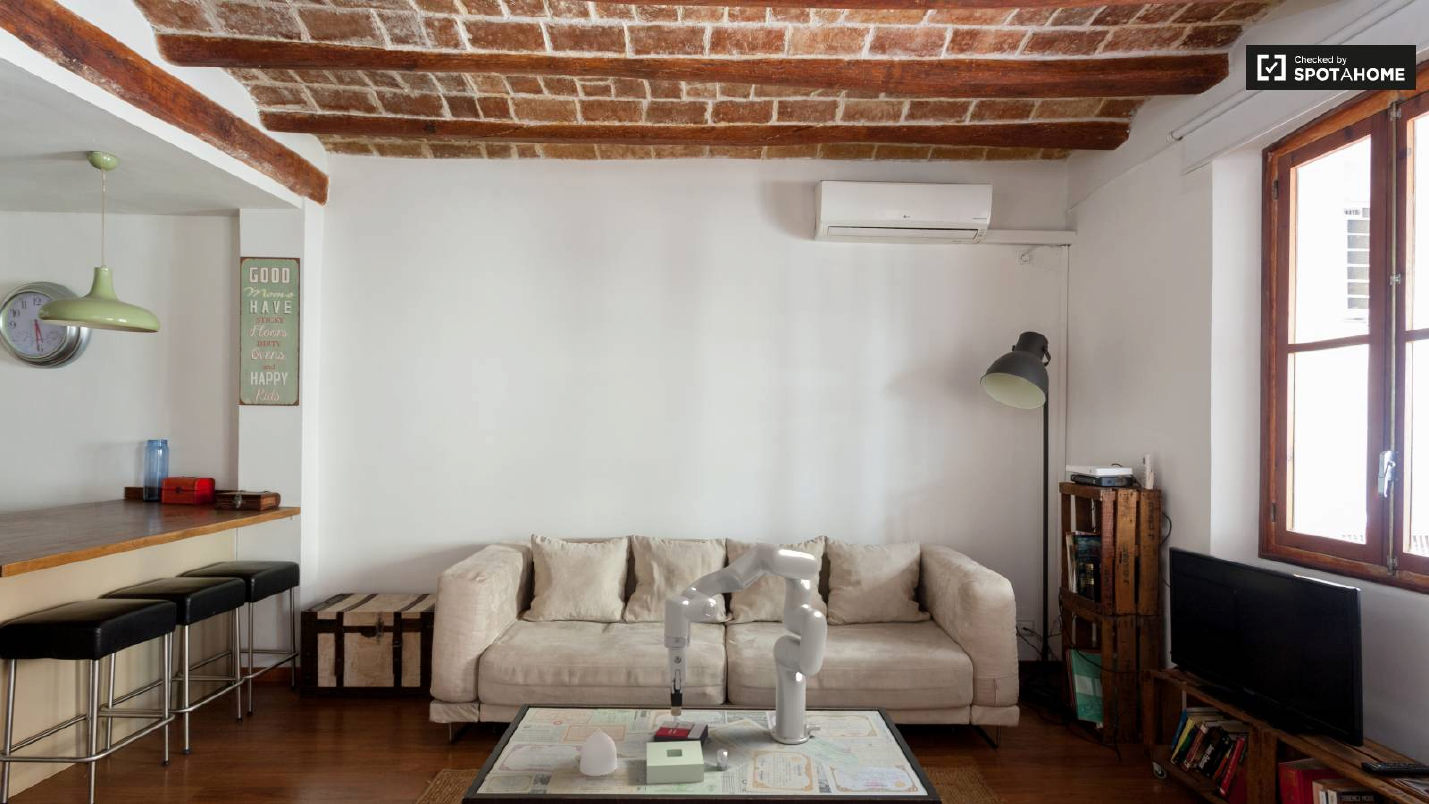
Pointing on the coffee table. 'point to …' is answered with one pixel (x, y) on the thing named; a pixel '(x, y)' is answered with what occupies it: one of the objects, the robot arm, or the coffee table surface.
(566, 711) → the coffee table surface
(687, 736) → the calculator
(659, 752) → the peg block
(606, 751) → the teardrop
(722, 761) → the short pin
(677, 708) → the long pin
